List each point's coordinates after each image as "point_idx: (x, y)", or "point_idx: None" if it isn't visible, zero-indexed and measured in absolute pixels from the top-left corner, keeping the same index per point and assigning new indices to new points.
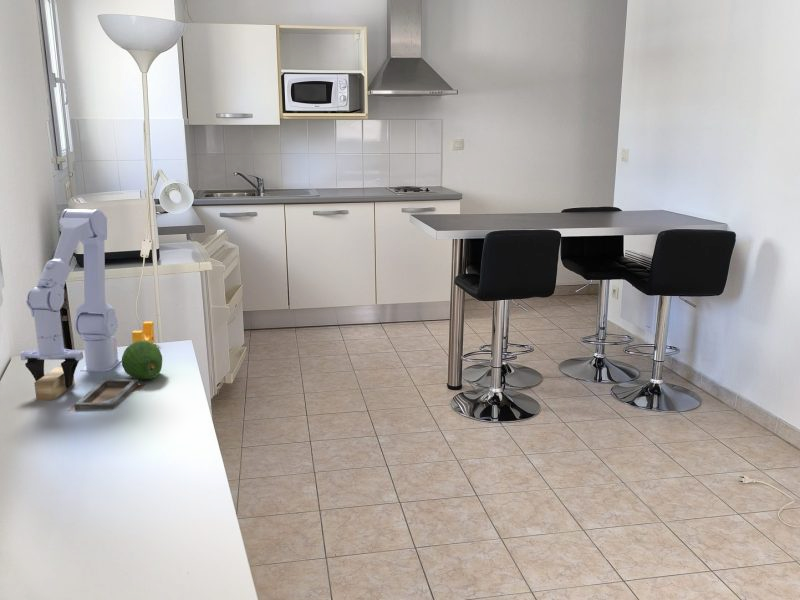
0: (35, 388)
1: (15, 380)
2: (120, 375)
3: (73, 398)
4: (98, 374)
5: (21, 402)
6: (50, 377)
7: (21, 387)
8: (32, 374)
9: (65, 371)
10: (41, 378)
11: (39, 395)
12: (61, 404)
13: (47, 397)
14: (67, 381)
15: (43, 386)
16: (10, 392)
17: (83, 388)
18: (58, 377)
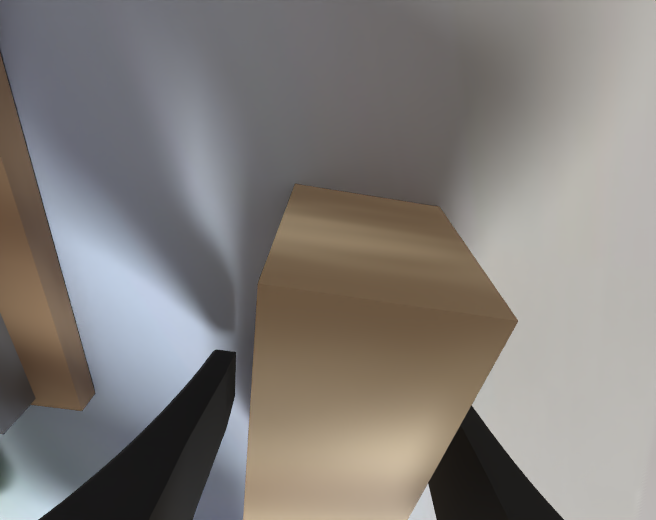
0: (477, 268)
1: (592, 514)
2: None
3: (149, 226)
4: (199, 517)
5: (566, 199)
6: (337, 443)
7: (563, 444)
8: (557, 514)
9: (115, 513)
10: (438, 433)
11: (419, 223)
12: (182, 85)
13: (341, 205)
14: (185, 393)
15: (377, 268)
16: (634, 391)
17: (179, 386)
18: (248, 436)
